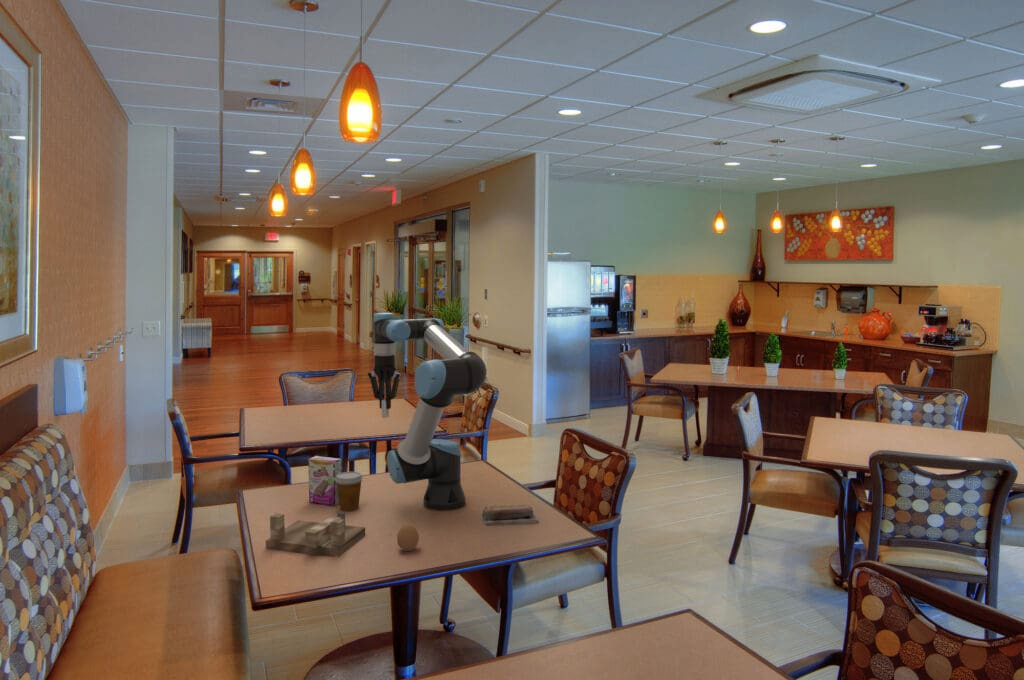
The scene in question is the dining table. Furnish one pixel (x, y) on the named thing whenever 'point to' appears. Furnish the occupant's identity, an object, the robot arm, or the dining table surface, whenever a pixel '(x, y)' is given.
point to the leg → (319, 533)
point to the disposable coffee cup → (349, 489)
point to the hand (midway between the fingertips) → (385, 417)
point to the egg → (407, 537)
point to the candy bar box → (323, 480)
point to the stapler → (509, 515)
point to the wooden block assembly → (296, 538)
